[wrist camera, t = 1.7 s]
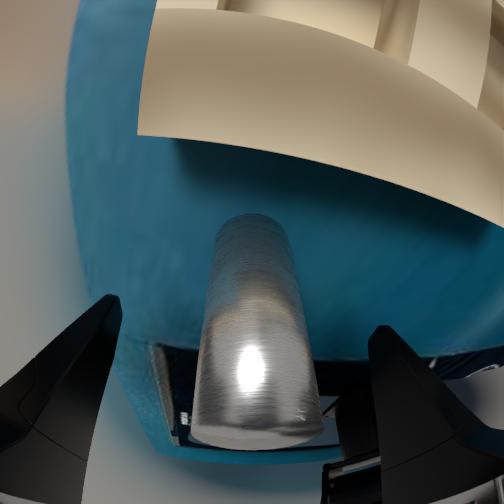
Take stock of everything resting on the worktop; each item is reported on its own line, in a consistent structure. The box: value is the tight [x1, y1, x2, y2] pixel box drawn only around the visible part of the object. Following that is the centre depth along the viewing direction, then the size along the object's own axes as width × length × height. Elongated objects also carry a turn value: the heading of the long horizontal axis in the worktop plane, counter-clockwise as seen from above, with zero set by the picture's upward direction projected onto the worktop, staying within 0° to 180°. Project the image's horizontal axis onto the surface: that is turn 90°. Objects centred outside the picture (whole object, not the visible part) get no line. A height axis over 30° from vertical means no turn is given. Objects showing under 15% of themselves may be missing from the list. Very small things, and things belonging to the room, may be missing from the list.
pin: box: [191, 214, 324, 450], centre depth 9 cm, size 3×3×8 cm
